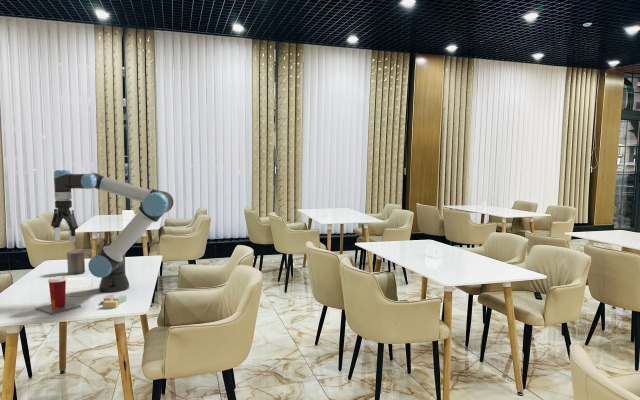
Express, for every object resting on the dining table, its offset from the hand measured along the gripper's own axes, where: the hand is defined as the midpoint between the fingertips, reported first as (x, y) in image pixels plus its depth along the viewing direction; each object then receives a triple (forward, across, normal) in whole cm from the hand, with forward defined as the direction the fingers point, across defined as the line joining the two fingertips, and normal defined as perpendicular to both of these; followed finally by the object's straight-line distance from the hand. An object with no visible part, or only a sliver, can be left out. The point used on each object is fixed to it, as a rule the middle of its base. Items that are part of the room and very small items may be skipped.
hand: (64, 241), depth 242 cm
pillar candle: (+29, -45, +32) cm, 62 cm away
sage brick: (+29, +34, +7) cm, 45 cm away
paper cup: (+28, +17, -14) cm, 36 cm away
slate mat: (+29, +17, -14) cm, 36 cm away
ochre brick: (+29, +36, 0) cm, 47 cm away
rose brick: (+29, +28, +5) cm, 41 cm away
